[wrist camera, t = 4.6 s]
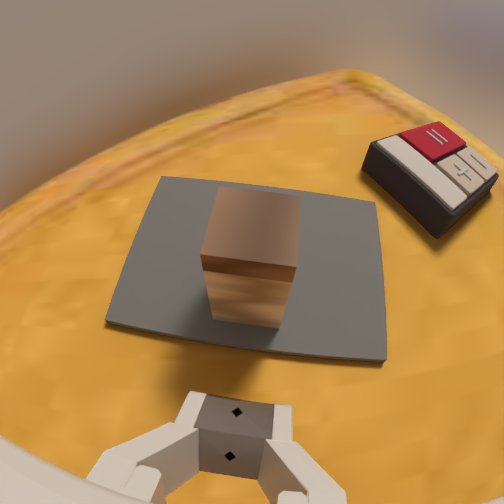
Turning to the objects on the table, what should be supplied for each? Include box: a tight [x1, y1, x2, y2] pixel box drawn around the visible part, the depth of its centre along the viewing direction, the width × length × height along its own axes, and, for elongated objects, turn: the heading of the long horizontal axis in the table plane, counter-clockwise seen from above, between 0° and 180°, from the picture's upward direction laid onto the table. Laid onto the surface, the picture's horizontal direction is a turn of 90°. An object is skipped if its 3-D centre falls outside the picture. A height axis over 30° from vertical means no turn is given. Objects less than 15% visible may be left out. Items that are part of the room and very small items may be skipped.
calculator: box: [362, 121, 499, 238], centre depth 31 cm, size 11×4×15 cm
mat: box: [105, 176, 387, 362], centre depth 25 cm, size 20×15×1 cm
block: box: [200, 186, 301, 329], centre depth 20 cm, size 4×4×8 cm
